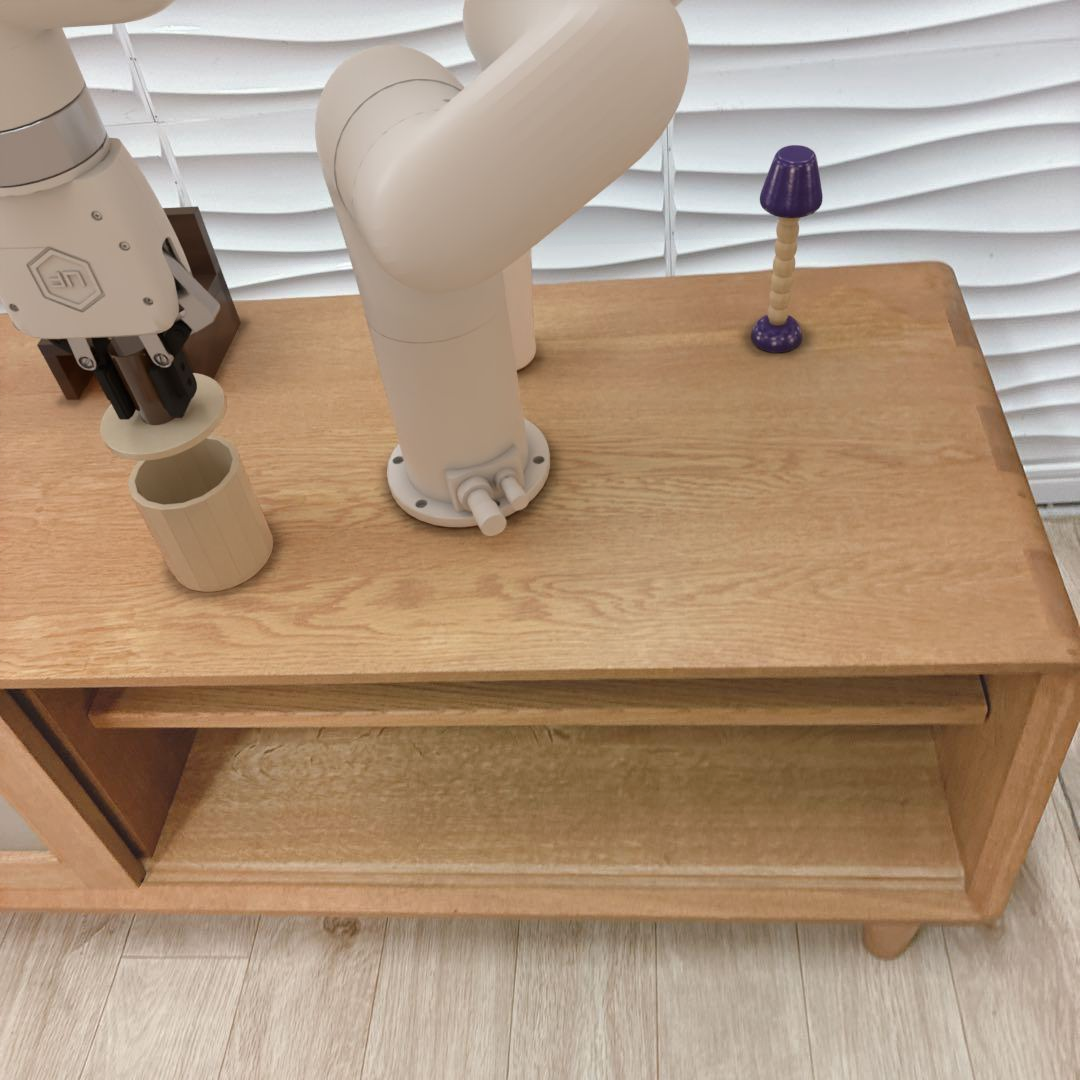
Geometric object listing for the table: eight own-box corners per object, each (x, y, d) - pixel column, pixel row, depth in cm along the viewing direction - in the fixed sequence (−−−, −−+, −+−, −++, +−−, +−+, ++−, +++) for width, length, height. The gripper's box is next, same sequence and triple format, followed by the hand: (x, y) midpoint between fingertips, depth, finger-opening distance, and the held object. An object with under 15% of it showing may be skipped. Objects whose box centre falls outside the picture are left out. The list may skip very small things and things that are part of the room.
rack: (205, 396, 94) (155, 278, 85) (66, 400, 95) (3, 284, 87) (240, 322, 101) (198, 206, 92) (111, 326, 103) (58, 213, 94)
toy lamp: (807, 322, 92) (824, 135, 80) (810, 355, 89) (829, 166, 77) (750, 323, 93) (758, 139, 81) (751, 357, 89) (760, 169, 77)
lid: (241, 439, 69) (206, 355, 64) (116, 484, 68) (70, 402, 63) (216, 371, 75) (182, 289, 70) (99, 411, 73) (56, 331, 68)
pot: (284, 568, 78) (249, 483, 72) (181, 606, 77) (137, 523, 71) (260, 504, 83) (226, 420, 77) (164, 539, 82) (121, 456, 76)
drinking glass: (536, 383, 90) (514, 222, 79) (459, 380, 91) (427, 221, 81) (552, 335, 94) (533, 176, 84) (478, 332, 96) (450, 176, 85)
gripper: (-147, 181, 55) (20, 447, 69) (149, 161, 53) (262, 440, 66) (-77, 113, 60) (66, 373, 74) (196, 92, 58) (293, 364, 71)
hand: (158, 402), depth 70 cm, fingers closed on lid, 2 cm apart
